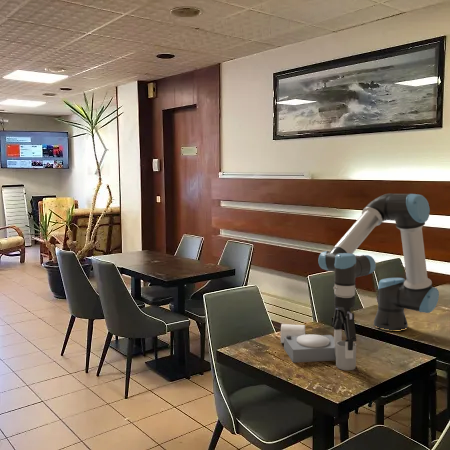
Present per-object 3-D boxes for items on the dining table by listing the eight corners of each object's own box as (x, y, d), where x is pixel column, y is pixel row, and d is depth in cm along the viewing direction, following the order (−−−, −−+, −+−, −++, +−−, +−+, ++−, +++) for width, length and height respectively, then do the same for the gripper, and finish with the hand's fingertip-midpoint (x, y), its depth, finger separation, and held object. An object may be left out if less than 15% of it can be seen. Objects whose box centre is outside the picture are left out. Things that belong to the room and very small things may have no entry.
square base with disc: (330, 346, 203) (331, 332, 203) (343, 359, 188) (343, 344, 188) (284, 348, 201) (284, 334, 201) (293, 362, 186) (293, 347, 186)
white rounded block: (304, 347, 203) (304, 328, 203) (280, 345, 205) (280, 327, 204) (305, 337, 215) (305, 320, 214) (282, 336, 217) (282, 319, 216)
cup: (343, 372, 177) (344, 348, 176) (327, 362, 186) (327, 339, 185) (359, 368, 180) (360, 345, 179) (343, 359, 189) (343, 337, 188)
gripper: (324, 287, 192) (323, 341, 194) (346, 304, 168) (344, 364, 171) (343, 287, 193) (341, 340, 195) (367, 303, 169) (365, 363, 171)
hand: (343, 351), depth 183 cm, fingers open, 12 cm apart
